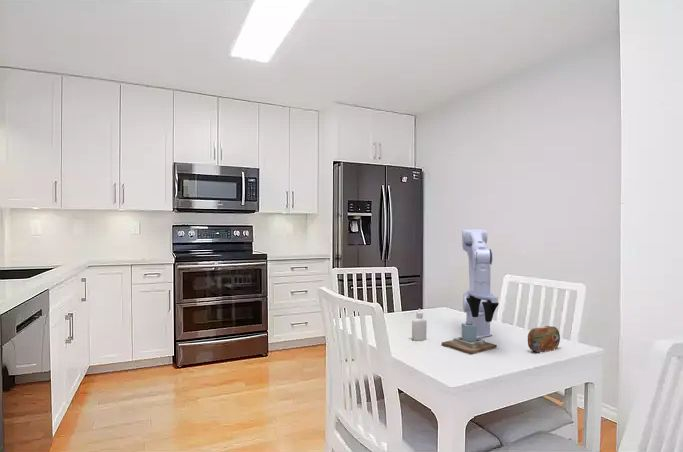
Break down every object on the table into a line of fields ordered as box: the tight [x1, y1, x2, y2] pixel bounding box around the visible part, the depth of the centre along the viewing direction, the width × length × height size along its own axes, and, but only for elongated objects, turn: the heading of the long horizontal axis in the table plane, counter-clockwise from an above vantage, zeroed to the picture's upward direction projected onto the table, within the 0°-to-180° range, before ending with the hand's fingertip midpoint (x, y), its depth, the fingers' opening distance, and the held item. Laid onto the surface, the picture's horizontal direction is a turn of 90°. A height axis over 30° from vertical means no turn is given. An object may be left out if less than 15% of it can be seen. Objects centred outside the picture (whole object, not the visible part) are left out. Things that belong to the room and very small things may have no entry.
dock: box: [441, 336, 498, 355], centre depth 148 cm, size 15×13×2 cm
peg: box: [461, 320, 477, 343], centre depth 148 cm, size 4×4×8 cm
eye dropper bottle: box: [411, 308, 428, 342], centre depth 156 cm, size 4×6×12 cm
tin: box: [527, 325, 561, 354], centre depth 145 cm, size 15×3×8 cm, turn 117°
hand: (481, 319), depth 147 cm, fingers open, 7 cm apart
